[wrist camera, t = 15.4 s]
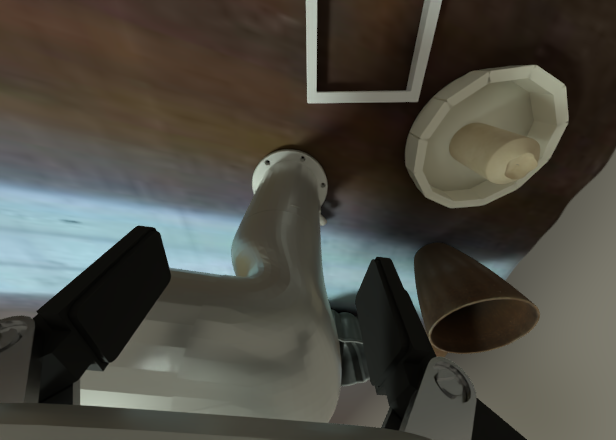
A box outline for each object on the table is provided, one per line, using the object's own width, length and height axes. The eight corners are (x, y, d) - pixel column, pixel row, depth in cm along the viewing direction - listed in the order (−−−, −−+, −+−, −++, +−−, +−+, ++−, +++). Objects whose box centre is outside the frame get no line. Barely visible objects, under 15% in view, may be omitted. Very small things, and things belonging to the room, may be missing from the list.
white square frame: (449, -63, 22) (459, -73, 20) (412, 100, 30) (418, 101, 28) (305, -59, 22) (305, -68, 21) (307, 101, 30) (307, 103, 29)
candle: (455, 122, 31) (509, 141, 22) (496, 121, 31) (564, 140, 22) (443, 161, 34) (485, 190, 26) (479, 160, 34) (534, 189, 25)
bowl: (545, 153, 34) (572, 163, 30) (428, 212, 40) (440, 225, 36) (526, 30, 26) (560, 23, 22) (384, 127, 32) (393, 134, 28)
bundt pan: (348, 357, 72) (352, 394, 64) (271, 339, 66) (265, 377, 58) (397, 314, 58) (410, 355, 50) (305, 287, 53) (304, 328, 44)
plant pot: (451, 212, 40) (520, 282, 27) (484, 255, 46) (554, 330, 32) (382, 254, 46) (410, 328, 33) (418, 288, 52) (455, 362, 39)
